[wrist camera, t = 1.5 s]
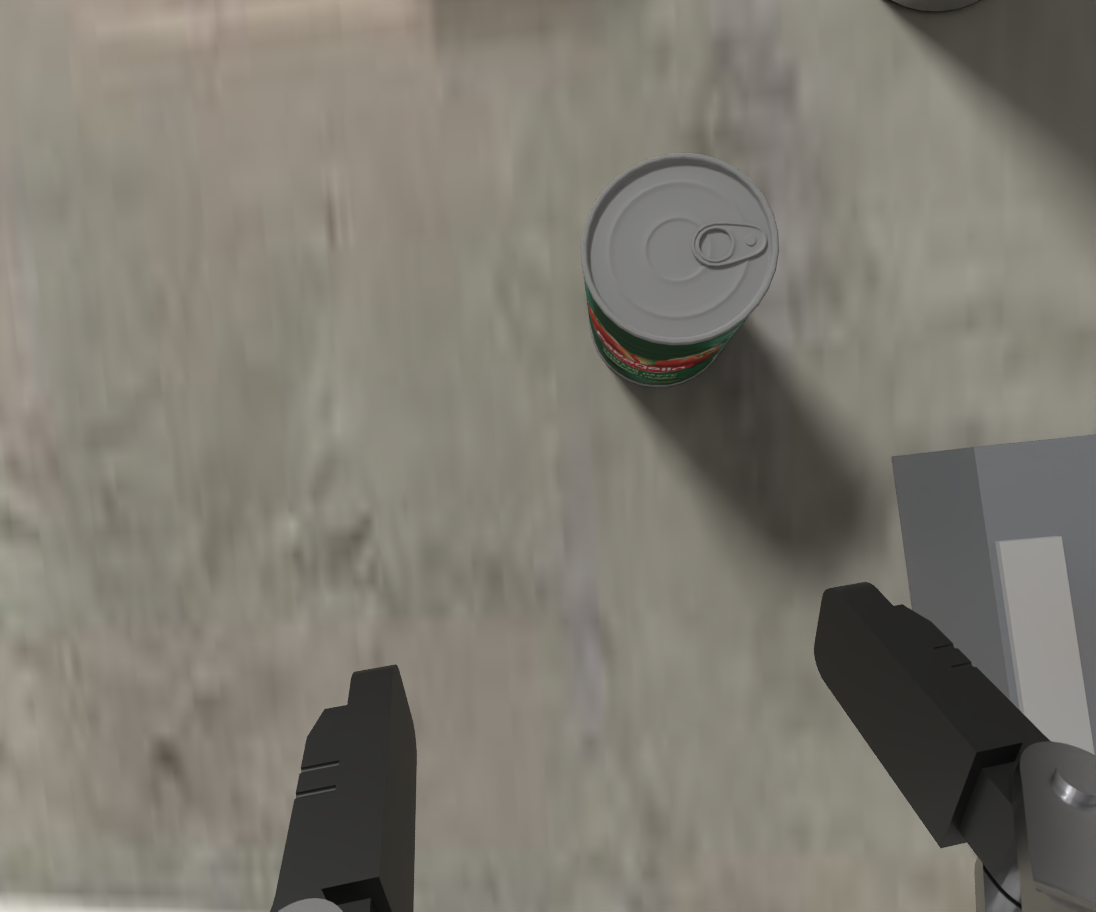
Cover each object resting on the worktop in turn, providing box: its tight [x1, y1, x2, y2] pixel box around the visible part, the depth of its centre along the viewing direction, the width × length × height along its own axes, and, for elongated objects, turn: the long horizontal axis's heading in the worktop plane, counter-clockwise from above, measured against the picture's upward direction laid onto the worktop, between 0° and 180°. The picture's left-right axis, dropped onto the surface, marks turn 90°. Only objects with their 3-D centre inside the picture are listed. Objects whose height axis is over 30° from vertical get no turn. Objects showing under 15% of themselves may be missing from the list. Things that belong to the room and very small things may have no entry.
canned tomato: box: [581, 153, 779, 387], centre depth 31 cm, size 8×8×11 cm
